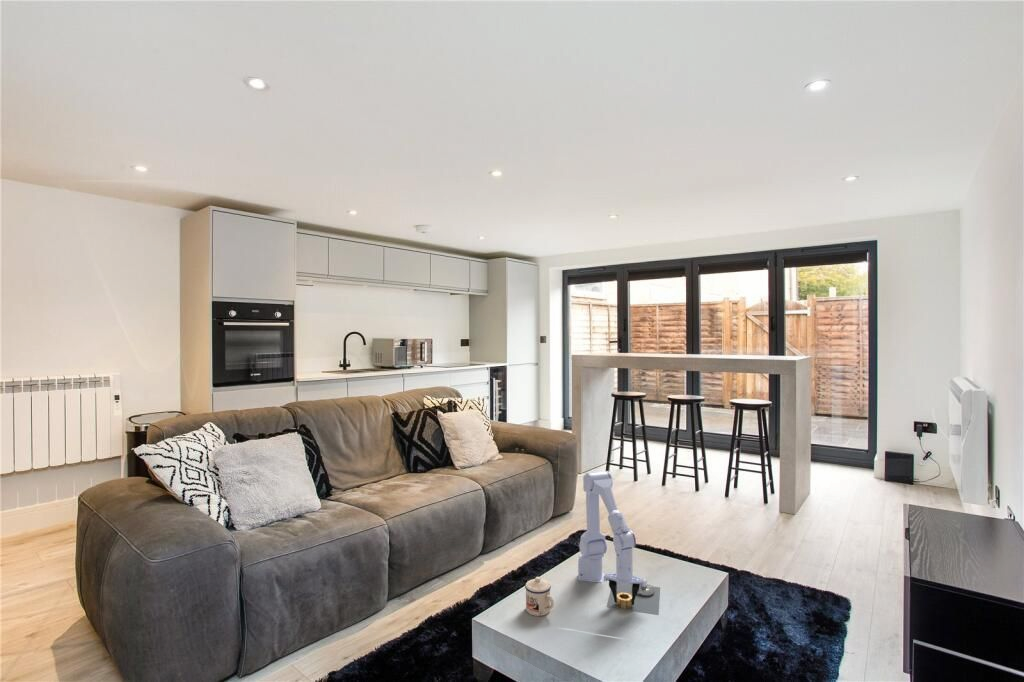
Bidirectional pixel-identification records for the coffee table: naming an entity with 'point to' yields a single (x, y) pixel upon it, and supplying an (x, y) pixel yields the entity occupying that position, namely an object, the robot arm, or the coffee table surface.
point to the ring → (624, 600)
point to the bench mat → (638, 600)
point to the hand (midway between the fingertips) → (624, 602)
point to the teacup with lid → (538, 597)
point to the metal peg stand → (646, 590)
